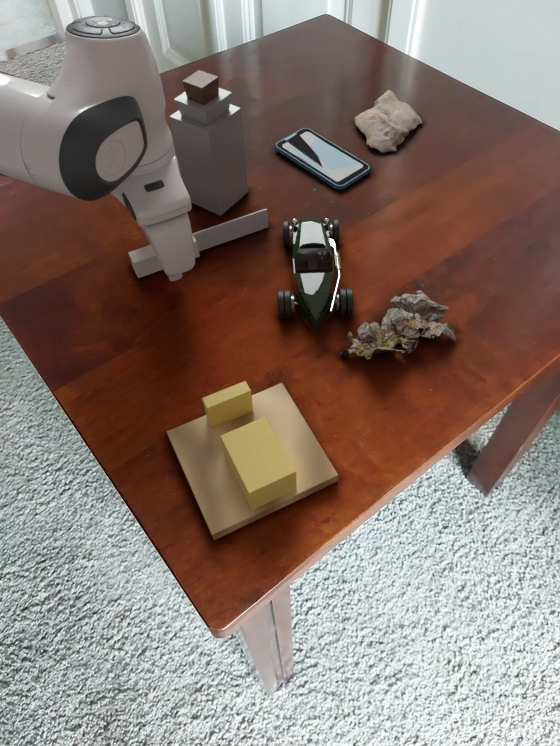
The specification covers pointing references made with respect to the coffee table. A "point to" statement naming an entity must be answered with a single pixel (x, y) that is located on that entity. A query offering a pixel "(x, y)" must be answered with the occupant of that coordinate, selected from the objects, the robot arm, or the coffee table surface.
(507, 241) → the coffee table surface
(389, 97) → the stone
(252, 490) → the butter
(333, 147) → the smartphone
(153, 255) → the knife
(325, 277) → the toy car
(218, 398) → the butter slice
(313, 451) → the butter board
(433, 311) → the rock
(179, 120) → the perfume bottle
